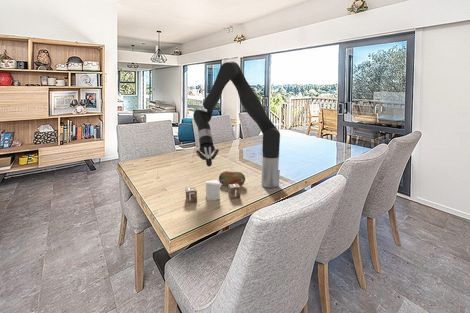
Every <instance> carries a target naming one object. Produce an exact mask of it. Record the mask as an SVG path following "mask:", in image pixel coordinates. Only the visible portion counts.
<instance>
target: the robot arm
mask: <svg viewBox="0 0 470 313" xmlns="http://www.w3.org/2000/svg"><path fill="white" fill-rule="evenodd" d="M229 82H232V85H233V86H234V87H235V90H236V91H237V95H238V98H239V101H240V105H242V107H243V108H244V110H245V112H246V113H247V115H248V116H249V117H250V118H251V119H252V120H253V121H254V122H255V124H257V126H258V127H259V130H260V132H261V133H262V147H261V148H262V150H261V151H262V161H261V162H262V164H261V186H262V187H264V188H267V189H275V188H277V187H280V170H279V166H280V165H279V164H280V162H279V161H280V144H281V142H280V140H281V133H280V130H279V129H278V128H277V126H275V125H274V122H272V120H271V119H270V117H269V116H268V113H267V112H266V110H265V108H264V106H263V104H262V102H261V100H260V99H259V98H258V95H257V94H256V93H255V92H254V89H253V88H252V87H251V85H250V83H249V82H248V81H247V79H246V77H245V75H244V72H243V71H242V68H241V67H240V65H239V64H238V63H237V62H236V61H234V60H233V61H232V60H230V61H225V62H223V63H221V65H220V67H219V69H218V71H217V75H216V78H215V80H214V82H213V84H212V86H211V89H210V91H209V92H208V94H207V96H206V97H205V98H204V101H203V103H202V107H203V108H204V109H205V110H204V109H201V108H196V109H195V110H194V112H193V120H194V123H195V125H196V126H197V131H198V132H197V133H198V143H199V149H197V150H196V152H195V154H196V155H197V156H198V157H199V158H200V159H201V160H203V161H205V164H206V166H207V167H211V166H212V165H213V161H212V160H214V159H216V157H217V156H218V154H219V148H215V146H214V142H213V141H214V139H213V135H212V130H211V125H210V123H209V122H211V120H212V117H213V113H214V110H215V107H216V106H217V105H218V103H219V102H220V99H221V97H222V94H223V91H224V88H225V87H226V85H228V83H229Z"/></svg>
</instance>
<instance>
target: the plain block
mask: <svg viewBox="0 0 470 313" xmlns="http://www.w3.org/2000/svg"><path fill="white" fill-rule="evenodd" d="M220 184H221V183H220V181H218V180H206V181H205V197H206V199H207V201H215V200H220V199H221V196H220V194H221V193H220V192H221V191H220V190H221V189H220V188H221V186H220Z"/></svg>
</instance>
